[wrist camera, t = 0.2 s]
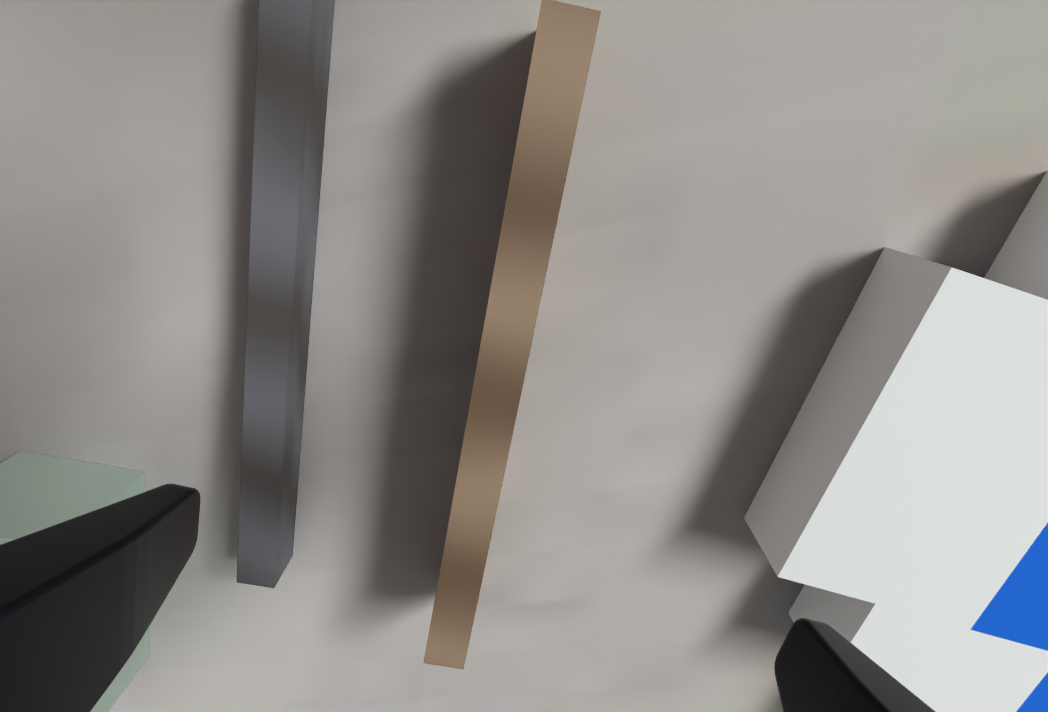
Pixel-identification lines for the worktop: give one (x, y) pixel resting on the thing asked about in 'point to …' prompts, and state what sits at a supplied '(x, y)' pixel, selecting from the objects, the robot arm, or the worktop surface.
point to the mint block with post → (66, 515)
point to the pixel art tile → (929, 478)
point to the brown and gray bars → (287, 283)
